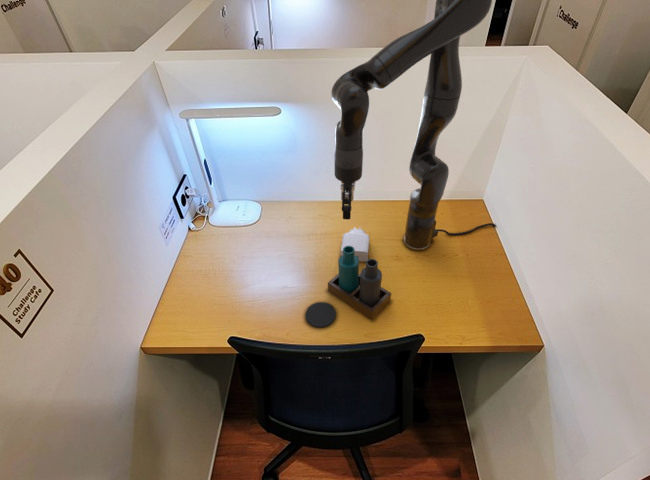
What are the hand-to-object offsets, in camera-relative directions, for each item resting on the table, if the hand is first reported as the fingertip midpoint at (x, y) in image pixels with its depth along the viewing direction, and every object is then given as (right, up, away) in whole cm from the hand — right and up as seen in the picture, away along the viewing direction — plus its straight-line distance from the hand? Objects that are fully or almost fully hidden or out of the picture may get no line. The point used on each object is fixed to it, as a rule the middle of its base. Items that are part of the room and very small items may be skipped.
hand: (347, 209), depth 109 cm
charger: (+3, -10, +21) cm, 24 cm away
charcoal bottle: (+7, -28, +3) cm, 29 cm away
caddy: (+4, -26, +5) cm, 27 cm away
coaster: (-8, -31, 0) cm, 32 cm away
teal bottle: (+1, -24, +7) cm, 25 cm away
